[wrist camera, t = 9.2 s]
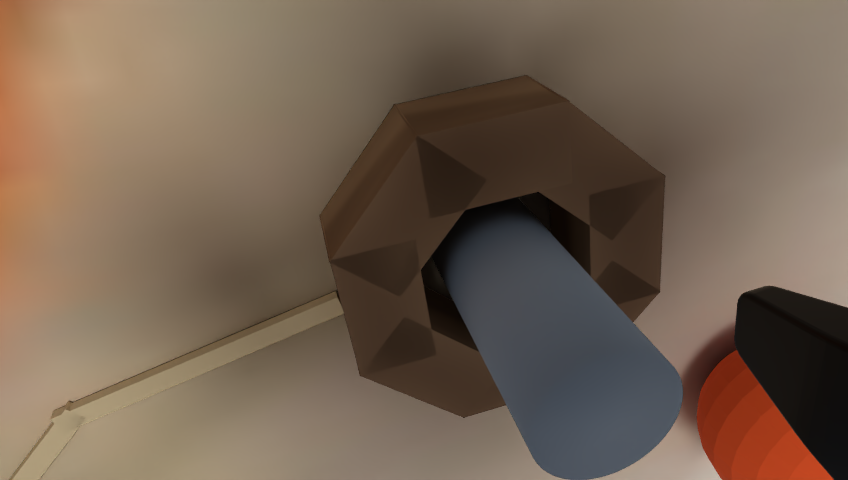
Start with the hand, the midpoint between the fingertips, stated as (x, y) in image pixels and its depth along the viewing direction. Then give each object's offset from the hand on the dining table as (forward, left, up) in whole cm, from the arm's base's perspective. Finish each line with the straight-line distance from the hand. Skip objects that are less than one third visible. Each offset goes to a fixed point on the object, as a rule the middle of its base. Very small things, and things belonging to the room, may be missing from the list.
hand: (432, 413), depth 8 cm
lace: (+8, +8, -12) cm, 17 cm away
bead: (-4, +5, -12) cm, 13 cm away
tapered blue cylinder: (-4, +5, -12) cm, 13 cm away
